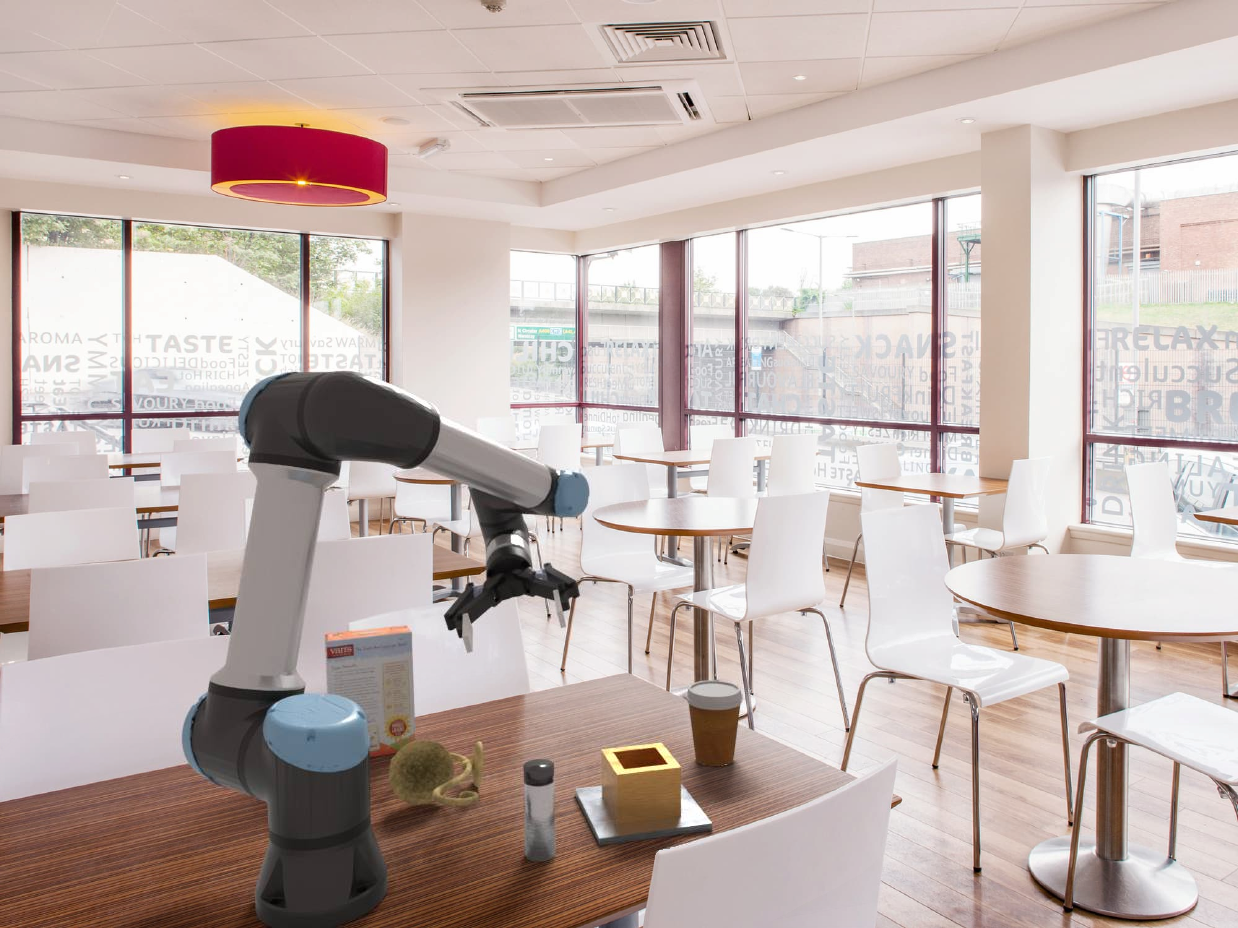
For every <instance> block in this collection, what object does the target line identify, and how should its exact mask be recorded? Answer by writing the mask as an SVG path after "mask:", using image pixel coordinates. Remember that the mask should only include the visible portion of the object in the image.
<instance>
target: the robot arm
mask: <svg viewBox="0 0 1238 928" xmlns="http://www.w3.org/2000/svg"><path fill="white" fill-rule="evenodd" d="M237 423H238V426H237V427H238V431H239V434H240V436H241V437H242V438H243V444H244V445H245V447H247V448H248V449H249V454H248V455H249V456H248V460H247V467H248V469H249V470H250V471H251V473H252V474H253V475H254V476H255V478H256V487H255V493H254V498H253V504H252V510H251V515H250V516H251V517H250V521H249V527H248V533H247V537H246V543H245V550H244V555H243V556H244V557H243V561H242V568H241V574H240V578H239V579H240V580H239V585H238V591H237V595H236V602H235V607H234V615H233V618H232V619H233V620H232V625H231V631H230V635H229V642H228V648H227V653H226V659H225V664H224V665H223V666H222V667H220V669H219V670H217V671H215V672H214V673H213V674H212V675H211V676H210V679H209V683H208V688H207V691H206V692H205V693H204V694H202V695H201V696H200V697H199V698H198V701H197V702H196V703H195V704H193V705H192V706H191V707H190V709H189V710H188V712H187V714H186V716H185V719H184V721H183V726H182V730H181V746H182V752H183V754H184V757H185V760H186V762H187V763H188V764H189V766H190V767H191V768H192V769H193V770H194V771H195V772H196V773H197V774H198V775H200V776H202V777H204V778H206V780H207V781H209V782H210V783H213V784H214V785H217V786H219V787H223V788H227V789H231V790H234V791H236V792H239V793H242V794H243V795H248V796H250V797H253V798H255V799H258V800H261V801H263V802H266V804H267V818H268V819H267V820H268V821H267V822H268V844H267V845H268V846H267V849H266V852H265V855H264V859H263V862H262V866H261V869H260V871H259V874H258V875H259V876H258V879H257V882H256V886H255V889H254V901H255V903H254V904H255V913H256V916H257V918H258V919H259V921H261V922H262V923H263V924H264V925H266V926H268V927H270V928H335V927H340V926H342V925H345V924H348V923H350V922H353V921H354V920H355V921H356V920H357V919H359V918H361V917H363V916H365V915H367V914H368V913H369V912H371V911H372V910H373V909H375V908H376V907H377V906H378V905H380V903H381V902H382V900H384V898H385V896H386V894H387V891H388V886H389V884H388V868H387V864H386V861H385V859H384V856H383V853H382V850H381V848H380V846H379V843H378V840H377V837H376V836H375V832H374V830H373V828H372V820H371V819H372V817H371V767H370V766H371V764H370V763H371V762H370V761H371V760H370V759H371V757H370V736H369V734H368V727H367V719H366V715H365V713H364V711H363V710H362V708H361V707H360V706H359V705H358V704H357V703H355V702H354V701H352V700H350V699H348V698H345V697H342V696H338V695H333V694H327V693H325V694H319V693H318V692H317V693H316V692H313V693H312V692H310V693H305V690H306V684H307V683H306V681H304V679H303V678H302V677H301V676H300V674H299V673H298V671H297V666H298V665H297V664H298V659H299V654H300V653H299V652H300V647H301V639H302V633H303V628H304V621H305V615H306V614H305V613H306V609H307V602H308V597H309V590H310V585H311V584H310V583H311V578H312V573H313V572H312V571H313V568H314V567H313V566H314V560H315V553H316V547H317V542H318V537H319V530H320V524H321V518H322V511H323V505H324V499H325V493H326V491H327V489H328V488H329V487H330V486H332V485H333V484H335V483H336V482H337V481H338V480H339V479H340V477H341V476H340V475H341V469H342V462H368V463H380V464H386V465H390V466H394V467H396V468H398V469H402V470H414V469H416V468H420V469H424V470H425V471H429V472H431V473H434V474H437V475H438V476H442V477H445V478H447V479H450V480H452V481H455V482H456V483H457V482H458V483H460V484H462V485H465V486H467V490H469V495H470V497H471V500H472V504H473V506H474V510H475V513H476V516H477V521H478V523H479V527H480V530H481V531H480V532H481V535H482V538H483V542H484V548H485V575H486V576H485V580H484V582H483V584H480V585H475V583H474V581H473V582H472V581H471V582H468V583H466V584H465V589H464V591H463V592H462V593H461V594H460V595H459V597H457V599H456V600H454V602H453V604H452V605H451V606H450V607H449V608H448V609H447V611H446V612H445V613H444V614H443V618H444V622H445V624H446V627H447V630H448V631H450V632H451V631H454V630H456V633H457V637H458V639H462V640H463V643H464V647H465V651H466V653H467V654H469V653H473V649H474V648H473V647H474V646H473V643H474V642H473V639H474V638H473V637H474V636H473V635H474V634H473V633H474V631H473V629H474V628H473V625H472V624H473V623H475V621H477V620H478V619H479V618H480V617H482V616H483V615H484V614H485V613H486V612H487V611H488V610H490V609H491V608H496V607H497V606H498V605H499V604H501V603H502V602H503V601H507V600H511V599H512V598H517V597H523V596H527V597H531V598H535V597H540V598H542V599H543V598H544V599H546V600H550V601H552V602H553V601H554V604H555V610H556V615H557V619H558V622H559V626H560V629H563V628H567V623H566V619H565V614H564V613H565V612H567V611H570V610H571V604H570V599H571V598H573V599H578V598H579V597H580V596H581V594H580V589H579V585H578V582H577V581H578V580H576V579H574V578H572V577H571V576H569V575H567V574H565V573H564V572H562V571H560V570H558V569H556V568H554V567H553V565H552V563H551V562H545V563H543V567H541V569H538V570H535V569H534V568H533V560H532V553H531V547H530V541H529V538H530V533H529V528H528V524H527V523H526V521H525V519H524V515H532V516H543V517H544V516H545V517H555V518H559V519H564V518H577V517H579V516H580V515H581V514H583V513H584V512H585V510H586V509H587V507H588V504H589V497H590V485H589V482H588V480H587V478H586V477H585V475H584V474H583V473H582V472H579V471H576V470H570V469H557V468H554V467H551V466H549V465H548V464H545V463H542V462H539V461H537V460H535V459H533V458H531V457H529V456H527V455H525V454H523V453H521V452H518V451H516V450H514V449H512V448H509V447H508V446H505V445H503V444H501V443H499V442H497V441H495V440H493V439H491V438H488V437H486V436H484V435H482V434H480V433H478V432H475V431H473V430H472V429H469V428H467V427H465V426H463V425H461V424H459V423H457V422H454V421H452V420H450V419H448V418H445V417H443V416H442V415H441V414H440V411H439V409H438V408H437V407H436V406H435V404H433V403H432V402H430V401H428V400H425V399H424V398H421V397H419V396H417V395H415V394H414V393H411V392H409V391H407V390H405V389H402V388H401V387H398V386H395V385H394V384H391V383H389V382H387V381H384V380H382V379H379V378H377V377H374V376H372V375H368V374H365V373H362V372H358V371H357V372H356V371H351V370H336V371H335V370H334V371H290V372H288V371H287V372H283V373H281V374H276V375H275V374H274V375H270V376H268V377H265V378H264V379H262V380H260V381H259V382H257V383H255V385H253V386H252V387H251V388H250V389H249V391H248V392H247V393H246V394H245V396H244V398H243V400H242V401H241V404H240V408H239V410H238V419H237Z"/></svg>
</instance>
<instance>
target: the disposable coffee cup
mask: <svg viewBox="0 0 1238 928" xmlns="http://www.w3.org/2000/svg"><path fill="white" fill-rule="evenodd" d="M685 699H686V702H687V703H688V710H689V718H690V724H691V725H690V726H691V733H692V740H693V741H692V742H693V748H694V757H695V758H696V759H695V760H697V761H698V762H699V763H698V762H697V761H696V762H697V763H698V764H700V763H701V765H703V764H705V765H704V766H706V765H709V766H708V767H714V766H719V767H723V766H722V765H725V764H729V763H731V762H732V761H733V762H734V760H735V759H734V758H735V750H736V744H737V733H738V727H739V719H740V712H741V711H740V710H741V705H742V702H743V700H744V694H743V693H742V690H741V687H740V686H739V685H737V684H736V683H734V682H732V681H731V682H730V681H724V680H714V679H712V680H700V681H699V680H698V681H696V682H694V683H690V685H689V686H688V687H687V692H686V693H685ZM733 759H734V760H733ZM733 762H732V763H733ZM732 763H731V764H732ZM729 765H730V764H729Z"/></svg>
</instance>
